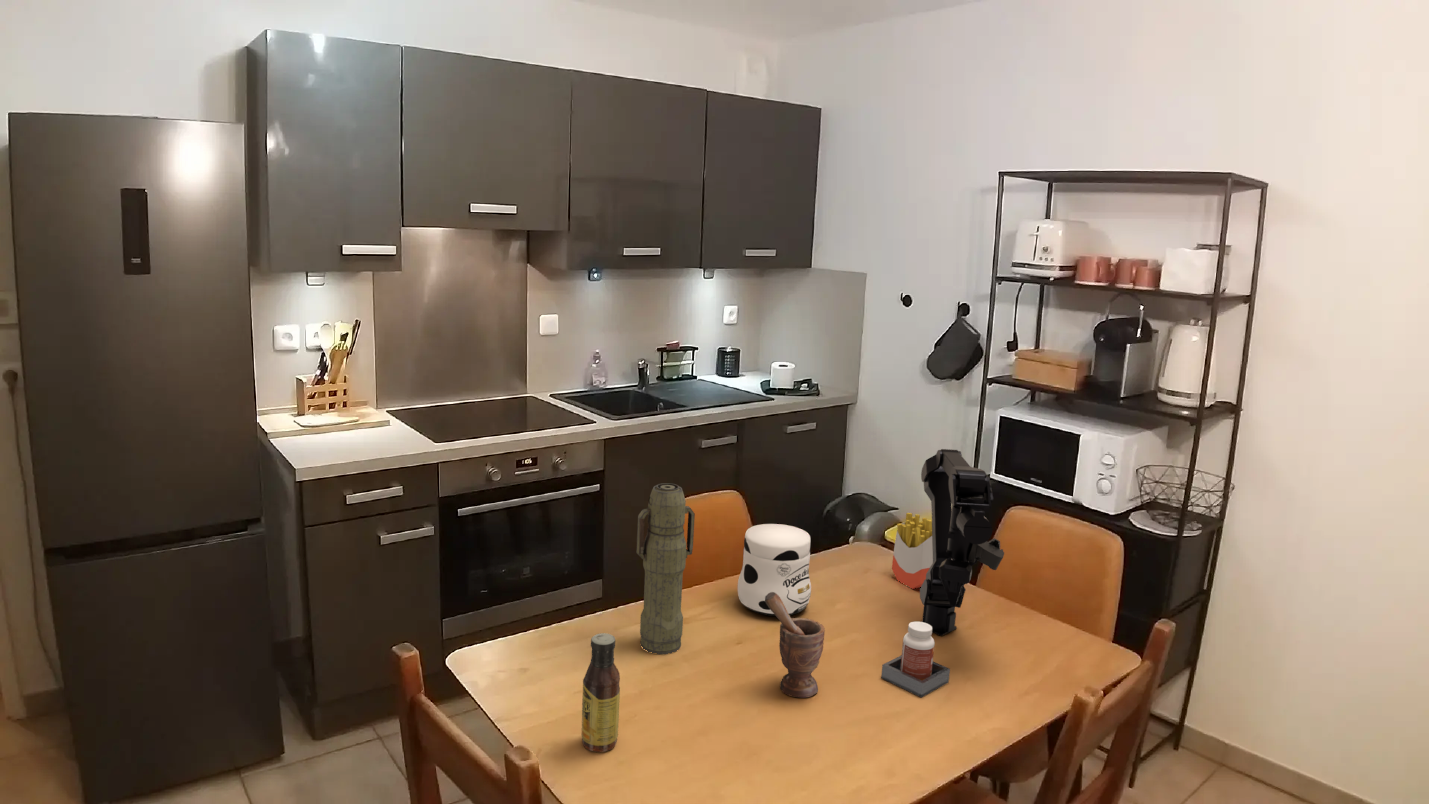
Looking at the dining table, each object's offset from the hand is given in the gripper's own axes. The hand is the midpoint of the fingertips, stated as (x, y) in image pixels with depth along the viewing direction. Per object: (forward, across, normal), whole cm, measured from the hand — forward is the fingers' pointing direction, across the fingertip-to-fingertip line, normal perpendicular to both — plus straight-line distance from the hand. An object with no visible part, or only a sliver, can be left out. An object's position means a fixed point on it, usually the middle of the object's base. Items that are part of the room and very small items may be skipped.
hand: (956, 597), depth 192 cm
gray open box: (+13, -15, +5) cm, 21 cm away
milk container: (+13, +4, +42) cm, 44 cm away
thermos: (+13, -26, +57) cm, 64 cm away
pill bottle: (+13, -15, +5) cm, 20 cm away
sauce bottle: (+13, -64, +49) cm, 82 cm away
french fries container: (+13, +35, +15) cm, 40 cm away
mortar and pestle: (+13, -31, +26) cm, 43 cm away
